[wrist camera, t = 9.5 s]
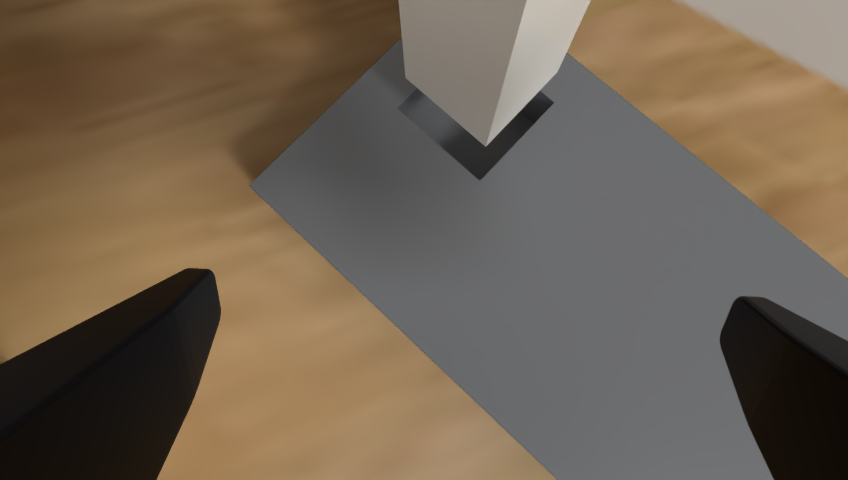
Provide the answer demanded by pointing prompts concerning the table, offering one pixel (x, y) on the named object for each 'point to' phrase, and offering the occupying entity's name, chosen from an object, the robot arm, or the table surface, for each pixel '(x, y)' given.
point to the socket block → (555, 266)
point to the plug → (485, 54)
